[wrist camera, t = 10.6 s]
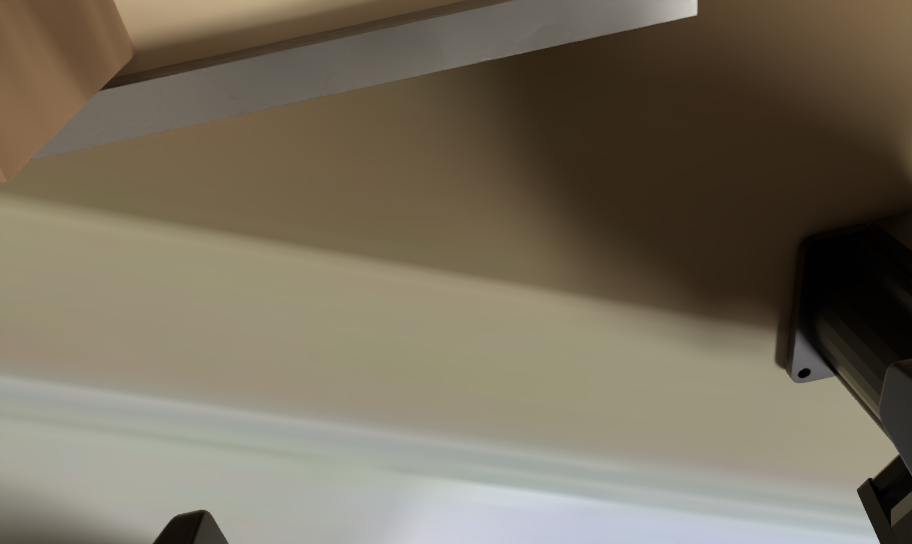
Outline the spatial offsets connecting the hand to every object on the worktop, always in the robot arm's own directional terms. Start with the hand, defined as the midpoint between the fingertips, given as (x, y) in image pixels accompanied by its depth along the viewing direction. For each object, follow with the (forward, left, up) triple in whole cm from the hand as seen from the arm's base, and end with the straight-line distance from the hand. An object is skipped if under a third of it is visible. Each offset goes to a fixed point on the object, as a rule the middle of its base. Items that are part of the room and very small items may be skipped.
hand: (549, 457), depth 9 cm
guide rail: (+3, +5, -11) cm, 12 cm away
